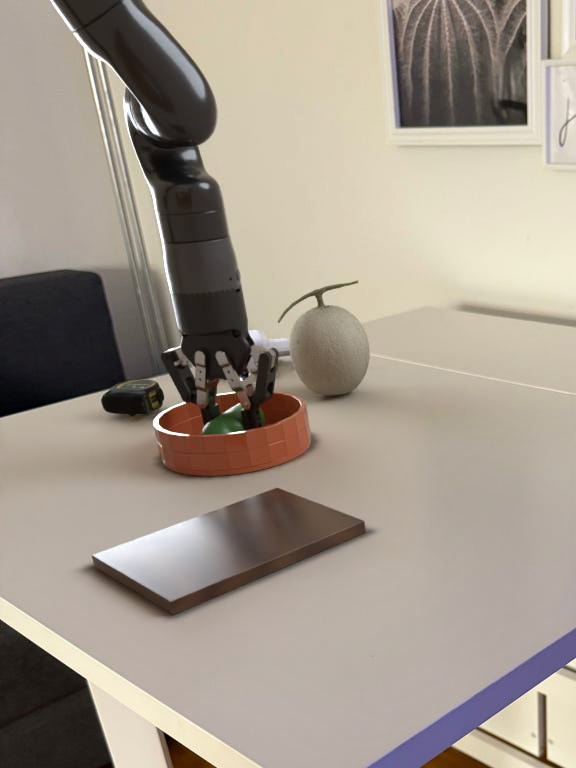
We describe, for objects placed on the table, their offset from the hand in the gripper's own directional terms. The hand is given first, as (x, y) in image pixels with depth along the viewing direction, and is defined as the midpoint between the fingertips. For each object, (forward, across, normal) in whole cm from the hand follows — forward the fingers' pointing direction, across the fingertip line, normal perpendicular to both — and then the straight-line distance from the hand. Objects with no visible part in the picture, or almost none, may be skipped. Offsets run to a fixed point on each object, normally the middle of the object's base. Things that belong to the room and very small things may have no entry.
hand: (235, 437), depth 108 cm
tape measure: (+2, -21, +12) cm, 24 cm away
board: (+1, +13, -26) cm, 29 cm away
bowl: (+1, 0, 0) cm, 1 cm away
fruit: (+2, +3, +23) cm, 23 cm away
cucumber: (+1, 0, 0) cm, 1 cm away
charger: (+2, -16, +37) cm, 40 cm away
